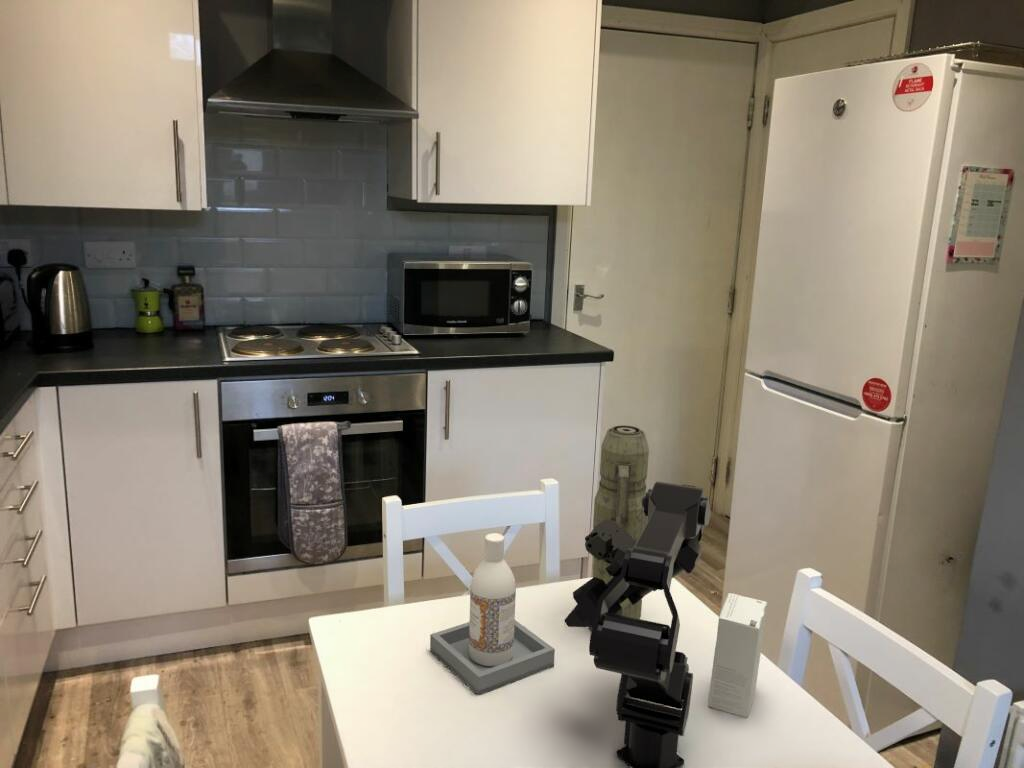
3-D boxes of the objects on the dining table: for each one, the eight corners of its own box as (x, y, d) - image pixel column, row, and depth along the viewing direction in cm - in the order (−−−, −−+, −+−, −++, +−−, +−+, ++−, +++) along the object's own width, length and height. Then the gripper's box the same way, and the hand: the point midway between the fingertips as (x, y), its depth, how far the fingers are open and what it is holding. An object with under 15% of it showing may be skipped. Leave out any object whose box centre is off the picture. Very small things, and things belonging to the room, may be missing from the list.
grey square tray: (553, 666, 130) (554, 649, 129) (478, 695, 122) (479, 677, 121) (502, 627, 141) (502, 610, 140) (430, 651, 133) (430, 634, 132)
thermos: (635, 610, 148) (649, 420, 140) (643, 646, 136) (659, 441, 128) (585, 608, 148) (596, 418, 140) (589, 644, 137) (601, 439, 129)
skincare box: (717, 679, 128) (726, 590, 125) (758, 689, 126) (768, 599, 122) (706, 709, 121) (716, 615, 117) (749, 720, 118) (760, 625, 115)
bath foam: (461, 649, 132) (464, 531, 128) (500, 640, 136) (504, 524, 131) (480, 672, 126) (483, 549, 122) (520, 661, 130) (525, 541, 125)
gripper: (653, 490, 121) (582, 541, 129) (590, 531, 106) (514, 586, 114) (700, 555, 118) (625, 603, 127) (642, 607, 103) (561, 657, 112)
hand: (583, 610), depth 120 cm, fingers open, 9 cm apart
